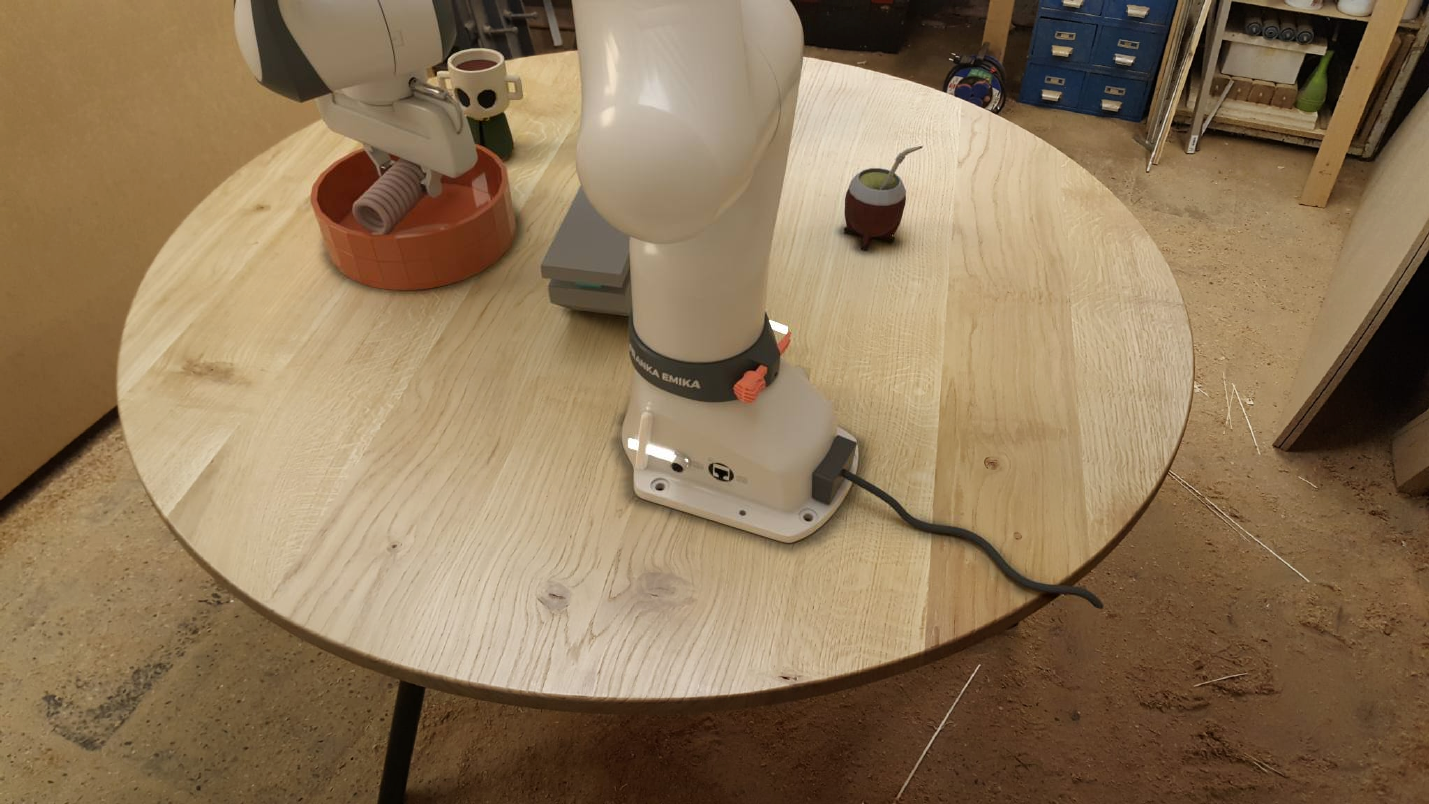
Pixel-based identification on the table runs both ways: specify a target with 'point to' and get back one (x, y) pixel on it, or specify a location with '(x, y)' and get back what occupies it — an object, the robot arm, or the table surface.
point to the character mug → (483, 96)
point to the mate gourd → (876, 203)
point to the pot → (417, 225)
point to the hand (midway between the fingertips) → (410, 185)
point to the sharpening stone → (589, 263)
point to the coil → (390, 198)
